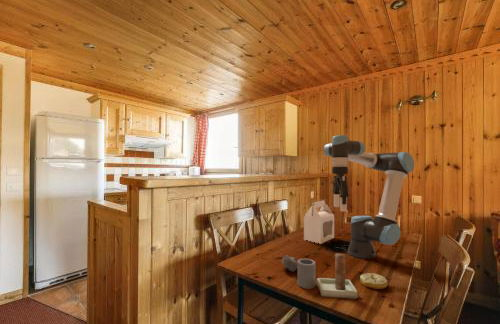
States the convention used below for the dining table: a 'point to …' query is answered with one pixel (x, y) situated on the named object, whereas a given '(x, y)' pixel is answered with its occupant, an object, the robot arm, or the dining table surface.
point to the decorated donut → (373, 281)
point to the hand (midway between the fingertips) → (339, 208)
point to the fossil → (289, 263)
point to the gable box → (319, 223)
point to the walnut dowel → (340, 271)
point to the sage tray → (329, 289)
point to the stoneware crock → (306, 273)
